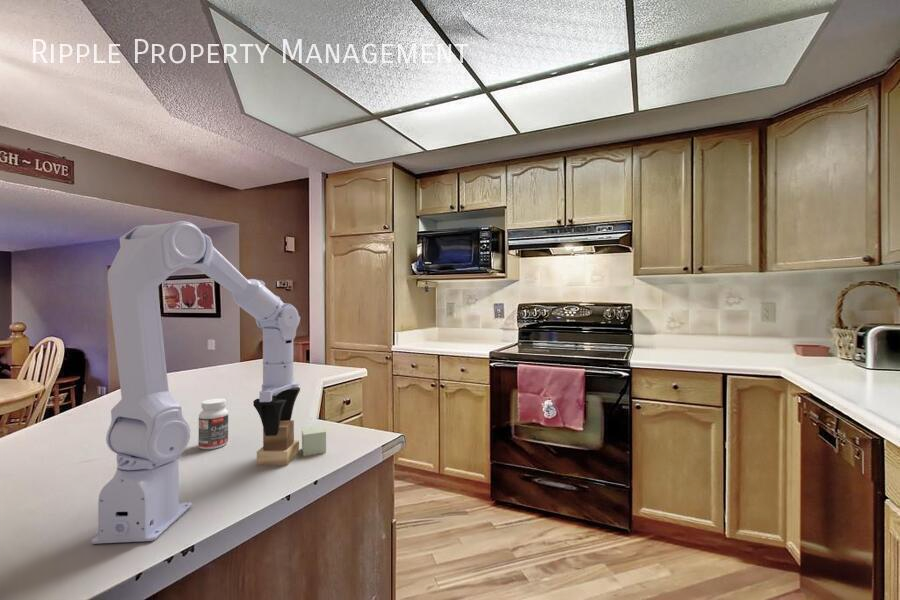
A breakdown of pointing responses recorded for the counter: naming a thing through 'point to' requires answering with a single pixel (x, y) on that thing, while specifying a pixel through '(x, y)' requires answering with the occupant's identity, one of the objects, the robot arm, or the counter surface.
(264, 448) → the walnut cube
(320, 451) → the sage block
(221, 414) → the pill bottle
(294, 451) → the oak block
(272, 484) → the counter surface
